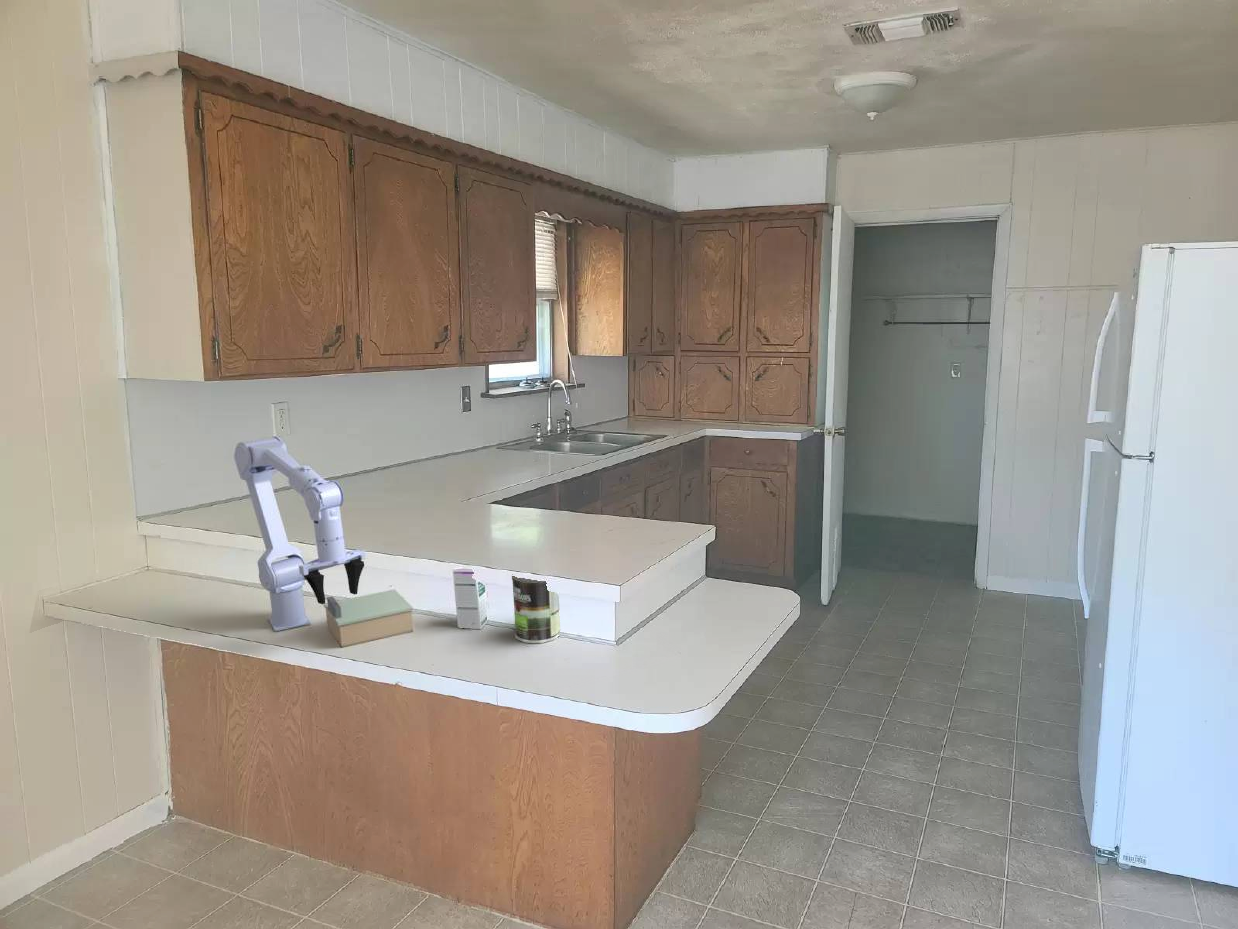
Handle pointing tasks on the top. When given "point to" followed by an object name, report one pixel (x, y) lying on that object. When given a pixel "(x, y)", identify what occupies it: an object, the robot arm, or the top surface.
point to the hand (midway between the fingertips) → (337, 598)
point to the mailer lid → (366, 607)
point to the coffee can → (535, 611)
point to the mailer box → (370, 628)
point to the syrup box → (469, 599)
